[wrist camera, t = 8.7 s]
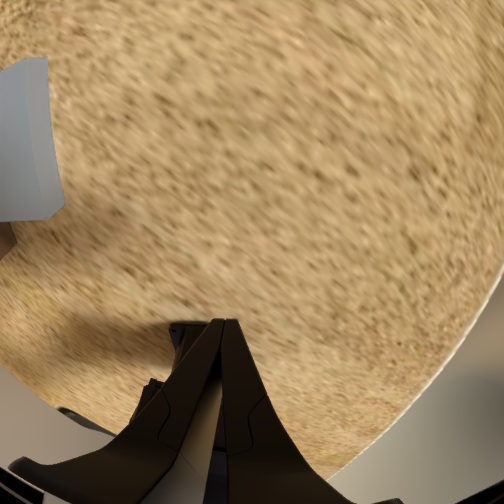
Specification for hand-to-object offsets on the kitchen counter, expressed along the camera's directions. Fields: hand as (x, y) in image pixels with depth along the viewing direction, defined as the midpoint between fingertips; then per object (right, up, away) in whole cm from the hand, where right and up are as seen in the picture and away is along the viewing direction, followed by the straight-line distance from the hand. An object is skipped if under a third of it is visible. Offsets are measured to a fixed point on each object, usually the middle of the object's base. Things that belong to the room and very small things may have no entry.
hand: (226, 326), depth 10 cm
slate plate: (-18, +12, +7) cm, 22 cm away
